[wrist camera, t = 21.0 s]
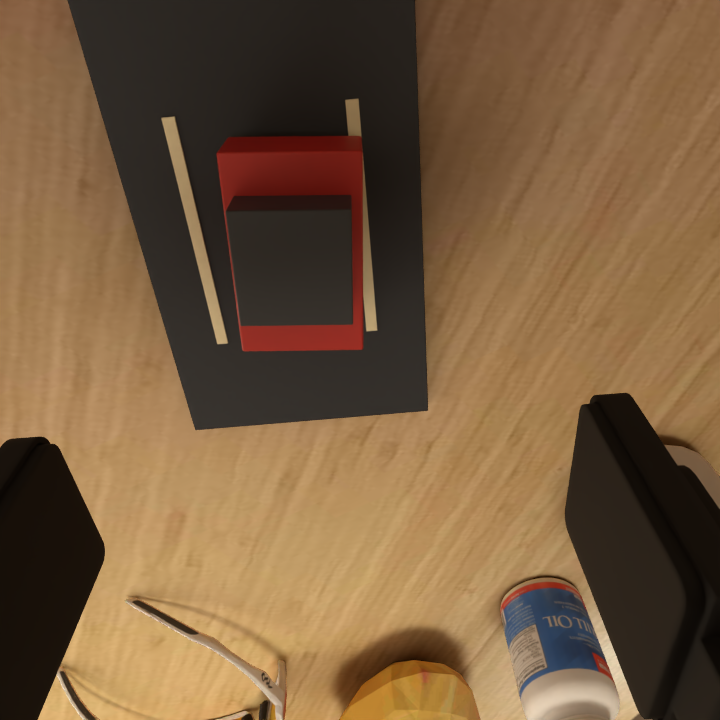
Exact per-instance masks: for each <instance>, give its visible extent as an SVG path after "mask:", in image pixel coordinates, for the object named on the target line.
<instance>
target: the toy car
mask: <svg viewBox="0 0 720 720" xmlns="http://www.w3.org/2000/svg"><path fill="white" fill-rule="evenodd" d="M216 155H217V163H218V171H219V178H220V186H221V193H222V201H223V208H224V216H225V224H226V231H227V239H228V246H229V254H230V262H231V269H232V277H233V284H234V292H235V299H236V307H237V315H238V322H239V330H240V337H241V345H242V350H243V351H306V350H362V349H363V150H362V138H361V136H279V137H229V138H227V140H226V141H225V142H224V144H223V145H222V146H221V148H220V149H219V150H218V152H217V154H216Z"/></svg>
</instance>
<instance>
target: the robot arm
mask: <svg viewBox="0 0 720 720" xmlns="http://www.w3.org/2000/svg"><path fill="white" fill-rule="evenodd" d="M565 521H566V527H567V530H568V533H569V536H570V538H571V541H572V543H573V546H574V549H575V551H576V554H577V556H578V559H579V561H580V564H581V566H582V569H583V572H584V574H585V577H586V579H587V582H588V584H589V587H590V589H591V592H592V595H593V597H594V600H595V602H596V605H597V607H598V610H599V612H600V615H601V618H602V620H603V623H604V625H605V628H606V630H607V633H608V635H609V638H610V641H611V643H612V646H613V648H614V651H615V653H616V656H617V658H618V661H619V664H620V666H621V669H622V671H623V674H624V676H625V679H626V681H627V684H628V687H629V689H630V692H631V694H632V697H633V699H634V702H635V704H636V707H637V709H638V711H639V713H640V715H641V716H642V717H643V718H644V719H653V720H720V509H719V507H718V506H717V504H716V503H715V502H714V500H713V499H712V497H711V496H710V494H709V493H708V491H707V490H706V489H705V487H704V486H703V484H702V483H701V481H700V480H699V478H698V477H697V476H696V474H695V473H694V472H693V471H692V470H691V469H690V468H689V467H687V466H685V465H677V464H676V462H675V461H674V459H673V458H672V456H671V455H670V453H669V452H668V450H667V449H666V447H665V446H664V444H663V443H662V441H661V440H660V438H659V437H658V435H657V434H656V432H655V431H654V429H653V428H652V426H651V425H650V423H649V422H648V420H647V419H646V417H645V416H644V414H643V413H642V411H641V410H640V408H639V407H638V405H637V404H636V402H635V401H634V399H633V398H632V397H631V395H630V394H628V393H618V394H604V395H595V396H593V397H592V398H591V400H590V404H583V405H582V406H581V408H580V412H579V419H578V426H577V433H576V439H575V446H574V453H573V460H572V466H571V473H570V480H569V487H568V493H567V500H566V507H565ZM104 556H105V547H104V543H103V540H102V538H101V536H100V534H99V532H98V530H97V527H96V525H95V523H94V521H93V519H92V517H91V515H90V513H89V510H88V508H87V506H86V504H85V502H84V500H83V498H82V496H81V493H80V491H79V489H78V487H77V485H76V483H75V481H74V479H73V476H72V474H71V472H70V470H69V468H68V466H67V464H66V462H65V459H64V457H63V455H62V453H61V451H60V449H59V448H58V446H57V445H55V444H50V442H49V441H48V440H47V439H46V438H45V437H29V438H16V439H10V440H7V441H6V442H5V443H4V444H3V445H2V446H1V447H0V720H38V717H39V715H40V712H41V710H42V708H43V705H44V703H45V700H46V698H47V696H48V693H49V691H50V689H51V686H52V684H53V681H54V679H55V677H56V674H57V672H58V669H59V667H60V665H61V662H62V660H63V657H64V655H65V653H66V650H67V648H68V646H69V643H70V641H71V638H72V636H73V634H74V631H75V629H76V626H77V624H78V622H79V619H80V617H81V614H82V612H83V610H84V607H85V605H86V602H87V600H88V598H89V595H90V593H91V591H92V588H93V586H94V583H95V581H96V579H97V576H98V574H99V571H100V569H101V567H102V564H103V561H104Z"/></svg>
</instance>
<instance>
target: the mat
mask: <svg viewBox="0 0 720 720" xmlns="http://www.w3.org/2000/svg"><path fill="white" fill-rule="evenodd" d="M68 3H69V6H70V10H71V13H72V16H73V20H74V23H75V27H76V30H77V33H78V37H79V40H80V43H81V47H82V50H83V53H84V57H85V60H86V64H87V67H88V70H89V74H90V77H91V80H92V84H93V87H94V90H95V94H96V97H97V101H98V104H99V107H100V111H101V114H102V117H103V121H104V124H105V127H106V131H107V134H108V138H109V141H110V144H111V148H112V151H113V154H114V158H115V161H116V165H117V168H118V171H119V175H120V178H121V181H122V185H123V188H124V191H125V195H126V198H127V202H128V205H129V208H130V212H131V215H132V218H133V222H134V225H135V228H136V232H137V235H138V239H139V242H140V245H141V249H142V252H143V255H144V259H145V262H146V265H147V269H148V272H149V276H150V279H151V282H152V286H153V289H154V292H155V296H156V299H157V303H158V306H159V309H160V313H161V316H162V319H163V323H164V326H165V329H166V333H167V336H168V340H169V343H170V346H171V350H172V353H173V356H174V360H175V363H176V366H177V370H178V373H179V377H180V380H181V383H182V387H183V390H184V393H185V397H186V400H187V403H188V407H189V410H190V414H191V417H192V420H193V424H194V427H195V430H202V429H214V428H226V427H238V426H250V425H262V424H274V423H286V422H298V421H310V420H322V419H334V418H346V417H358V416H370V415H382V414H394V413H406V412H418V411H428V394H427V363H426V332H425V301H424V270H423V239H422V208H421V177H420V146H419V115H418V84H417V53H416V22H415V0H68ZM279 136H361V138H362V150H363V349H362V350H306V351H243V350H242V345H241V337H240V330H239V322H238V315H237V307H236V299H235V292H234V284H233V277H232V269H231V262H230V254H229V246H228V239H227V231H226V224H225V216H224V208H223V201H222V193H221V186H220V178H219V171H218V163H217V155H216V154H217V152H218V150H219V149H220V148H221V146H222V145H223V144H224V142H225V141H226V140H227V138H229V137H279Z"/></svg>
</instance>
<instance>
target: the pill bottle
mask: <svg viewBox="0 0 720 720" xmlns="http://www.w3.org/2000/svg"><path fill="white" fill-rule="evenodd" d="M500 611H501V619H502V623H503V627H504V632H505V636H506V640H507V644H508V649H509V653H510V657H511V661H512V666H513V670H514V674H515V678H516V682H517V687H518V691H519V695H520V699H521V703H522V707H523V710H524V714H525V716H526V718H527V720H614V719H615V718H616V716H617V714H618V712H619V708H620V699H619V695H618V692H617V689H616V686H615V683H614V680H613V678H612V675H611V673H610V670H609V667H608V665H607V662H606V659H605V657H604V654H603V652H602V649H601V647H600V643H599V641H598V639H597V636H596V634H595V631H594V628H593V626H592V623H591V620H590V618H589V615H588V612H587V610H586V607H585V604H584V602H583V599H582V597H581V595H580V593H579V592H578V590H577V589H576V588H575V587H574V586H573V585H571V584H570V583H568V582H566V581H564V580H561V579H556V578H537V579H532V580H529V581H526V582H523V583H521V584H519V585H517V586H515V587H514V588H513V589H511V590H510V591H509V592H508V593H507V594H506V595H505V596H504V598H503V600H502V603H501V609H500Z"/></svg>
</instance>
